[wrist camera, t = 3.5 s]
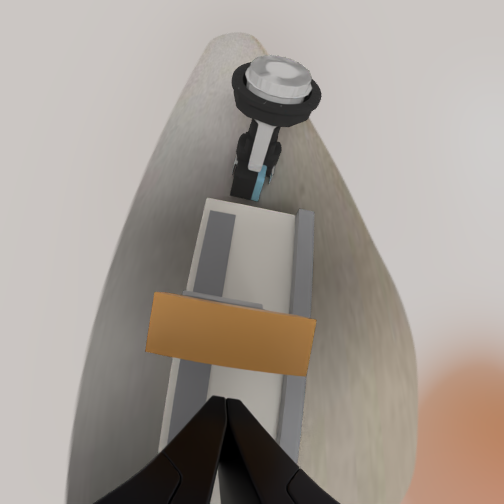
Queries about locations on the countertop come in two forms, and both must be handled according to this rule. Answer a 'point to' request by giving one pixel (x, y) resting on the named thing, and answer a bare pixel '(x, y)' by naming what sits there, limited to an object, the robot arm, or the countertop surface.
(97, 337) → the countertop surface
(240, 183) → the push button
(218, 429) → the robot arm
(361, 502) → the countertop surface
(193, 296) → the lever
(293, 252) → the panel
